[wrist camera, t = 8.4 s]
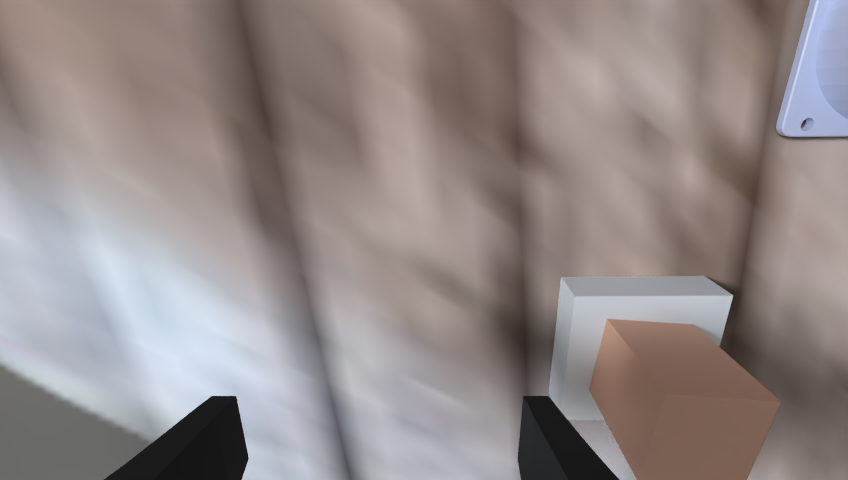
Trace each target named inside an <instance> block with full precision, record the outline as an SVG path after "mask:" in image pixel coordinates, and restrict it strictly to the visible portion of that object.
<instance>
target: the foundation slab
mask: <svg viewBox="0 0 848 480" xmlns="http://www.w3.org/2000/svg"><path fill="white" fill-rule="evenodd" d="M732 299H733V295H732V294H730V293H729V292H727V291H726V290H725V289H723V288H722V287H720V286H719V285H717V284H716V283H714V282H713V281H711V280H710V279H708V278H707V277H705V276H637V277H561V284H560V293H559V302H558V312H557V321H556V330H555V339H554V349H553V358H552V367H551V376H550V385H549V395H550V397H551V400H552V401H553V402H554V403H555V405H556V406H557V407H558V408H559V410H560V411H561V412H562V413H563V415H564V416H565V417H566V418H567V420H605V419H604V417H603V415H602V414H601V412H600V410H599V408H598V406H597V404H596V402H595V400H594V399H593V397H592V395H591V393H590V391H589V388H590V384H591V380H592V376H593V372H594V368H595V364H596V360H597V356H598V352H599V348H600V344H601V340H602V336H603V332H604V328H605V324H606V320H607V319H619V320H634V321H649V322H664V323H679V324H694V325H695V326H696V327H697V328H698V329H699V330H701V331H702V332H703V333H704V334H705V335H706V336H707V337H709V338H710V339H711V340H712V341H713V342H714V343H715V344H716V345H718V346H719V347H720V343H721V339H722V336H723V332H724V328H725V324H726V321H727V317H728V313H729V310H730V306H731V302H732Z"/></svg>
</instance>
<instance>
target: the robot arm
mask: <svg viewBox="0 0 848 480" xmlns="http://www.w3.org/2000/svg"><path fill="white" fill-rule="evenodd" d="M804 120H806V124H805V126H804V128H802V129H801V124H802V122H803V121H804ZM776 130H777V132H778V133H779V134H780V135H782V136H788V137H840V136H848V0H810V3H809V6H808V10H807V14H806V17H805V21H804V25H803V28H802V32H801V36H800V40H799V43H798V47H797V51H796V54H795V58H794V62H793V65H792V69H791V73H790V76H789V80H788V84H787V87H786V91H785V95H784V99H783V102H782V106H781V110H780V113H779V117H778V121H777V125H776ZM248 459H249V458H248V453H247V448H246V443H245V438H244V433H243V428H242V423H241V418H240V413H239V408H238V403H237V398H236V396H212V397H210V398H209V399H208V400H206V401H205V402H204V403H202V404H201V405H200V406H198V407H197V408H196V409H194V410H193V411H192V412H191V413H189V414H188V415H187V416H186V417H184V418H183V419H182V420H181V421H179V422H178V423H177V424H176V425H174V426H173V427H172V428H171V429H169V430H168V431H167V432H166V433H164V434H163V435H162V436H161V437H159V438H158V439H157V440H155V441H154V442H153V443H152V444H150V445H149V446H148V447H147V448H145V449H144V450H143V451H141V452H140V453H139V454H138V455H136V456H135V457H134V458H133V459H132V460H130V461H129V462H127V463H126V464H125V465H123V466H122V467H121V468H120V469H118V470H117V471H115V472H114V473H112V474H111V475H110V476H108V477H107V478H106V479H104V480H241V479H242V476H243V474H244V471H245V468H246V465H247V462H248ZM518 463H519V469H520V475H521V480H619V479H618V478H617V477H616V476H615V474H614V473H613V472H612V471H611V470H610V469H609V468H608V467H607V466H606V464H605V463H604V462H603V461H602V460H601V459H600V458H599V457H598V455H597V454H596V453H595V452H594V451H593V450H592V449H591V447H590V446H589V445H588V444H587V443H586V442H585V440H584V439H583V438H582V437H581V436H580V434H579V433H578V432H577V431H576V430H575V428H574V427H573V426H572V425H571V423H570V422H569V421H568V420H567V418H566V417H565V416H564V415H563V413H562V412H561V411H560V410H559V408H558V407H557V406H556V405H555V403H554V402H553V401H552V400H551V399H550V398H549V397H548V396H523V406H522V417H521V429H520V440H519V451H518Z"/></svg>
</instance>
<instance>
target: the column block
mask: <svg viewBox="0 0 848 480" xmlns="http://www.w3.org/2000/svg"><path fill="white" fill-rule="evenodd" d="M589 391H590V393H591V395H592V397H593V399H594V400H595V402H596V404H597V406H598V408H599V410H600V412H601V414H602V415H603V417H604V419H605V421H606V423H607V425H608V427H609V428H610V430H611V432H612V434H613V436H614V438H615V440H616V441H617V443H618V445H619V447H620V449H621V451H622V453H623V455H624V456H625V458H626V460H627V462H628V464H629V466H630V468H631V469H632V471H633V473H634V475H635V477H636V479H637V480H747V478H748V476H749V474H750V471H751V469H752V467H753V465H754V462H755V460H756V458H757V456H758V453H759V451H760V449H761V447H762V445H763V442H764V440H765V438H766V436H767V433H768V431H769V429H770V427H771V425H772V422H773V420H774V418H775V416H776V413H777V411H778V409H779V407H780V404H781V401H780V400H779V399H778V398H777V397H776V396H775V395H773V394H772V393H771V392H770V391H769V390H768V389H767V388H765V387H764V386H763V385H762V384H761V383H760V382H759V381H757V380H756V379H755V378H754V377H753V376H752V375H751V374H749V373H748V372H747V371H746V370H745V369H744V368H743V367H742V366H740V365H739V364H738V363H737V362H736V361H735V360H734V359H732V358H731V357H730V356H729V355H728V354H727V353H726V352H724V351H723V350H722V349H721V348H720V347H719V346H718V345H716V344H715V343H714V342H713V341H712V340H711V339H710V338H709V337H707V336H706V335H705V334H704V333H703V332H702V331H701V330H699V329H698V328H697V327H696V326H695V325H694V324H679V323H664V322H649V321H634V320H619V319H607V320H606V324H605V328H604V332H603V336H602V340H601V344H600V348H599V352H598V356H597V360H596V364H595V368H594V372H593V376H592V380H591V384H590V388H589Z"/></svg>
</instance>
